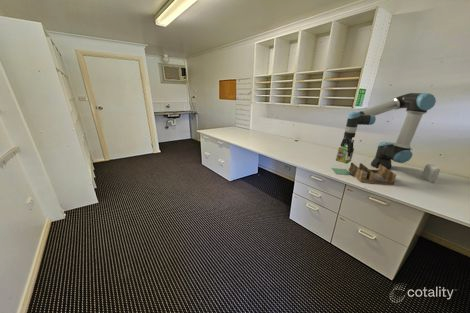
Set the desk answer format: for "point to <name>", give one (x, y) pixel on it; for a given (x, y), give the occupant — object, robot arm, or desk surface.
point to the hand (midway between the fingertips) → (344, 157)
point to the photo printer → (430, 173)
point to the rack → (381, 171)
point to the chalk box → (343, 154)
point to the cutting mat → (341, 171)
